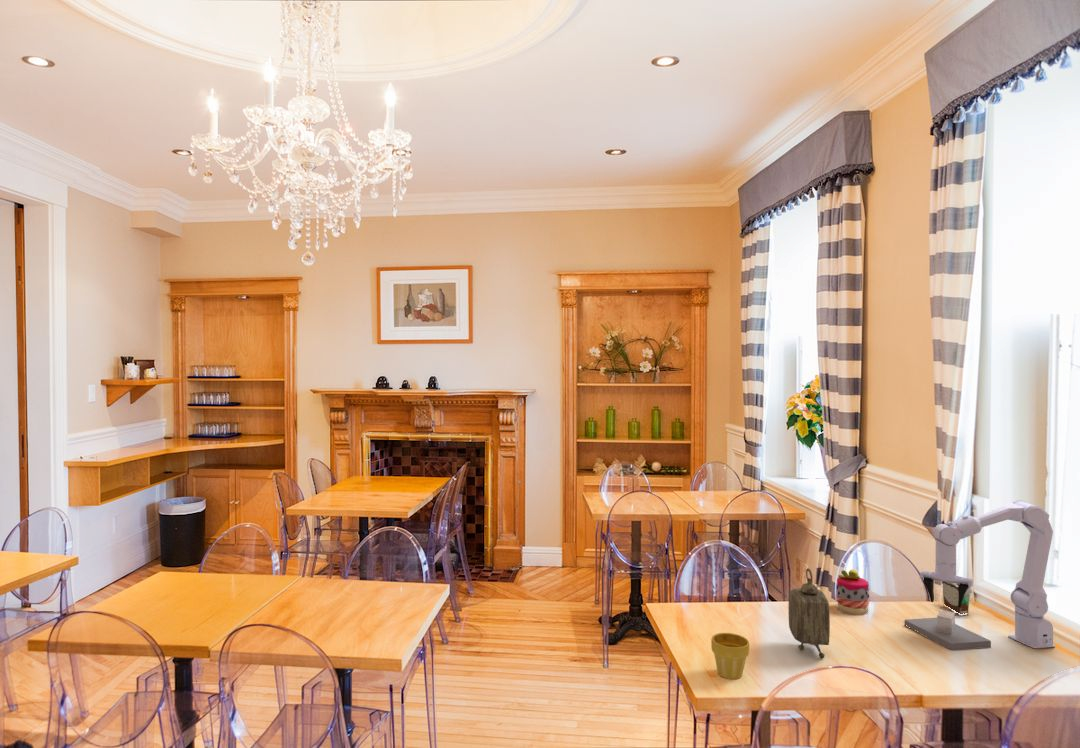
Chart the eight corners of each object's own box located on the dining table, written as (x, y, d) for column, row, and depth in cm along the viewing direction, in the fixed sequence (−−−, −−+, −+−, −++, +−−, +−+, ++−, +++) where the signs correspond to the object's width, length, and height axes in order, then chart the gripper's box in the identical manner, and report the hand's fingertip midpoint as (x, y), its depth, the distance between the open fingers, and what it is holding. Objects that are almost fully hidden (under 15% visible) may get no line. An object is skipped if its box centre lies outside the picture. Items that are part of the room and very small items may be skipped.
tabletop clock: (829, 661, 190) (829, 577, 190) (797, 659, 191) (797, 575, 192) (817, 642, 204) (817, 563, 204) (787, 639, 206) (787, 561, 206)
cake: (836, 603, 239) (836, 563, 239) (868, 607, 235) (868, 566, 235) (836, 612, 230) (836, 570, 230) (869, 617, 225) (869, 574, 225)
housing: (951, 634, 205) (951, 618, 205) (937, 631, 208) (937, 615, 208) (955, 627, 211) (955, 612, 211) (941, 624, 214) (941, 609, 214)
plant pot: (755, 682, 177) (755, 646, 177) (718, 683, 176) (718, 647, 176) (740, 665, 187) (740, 631, 187) (706, 666, 186) (706, 632, 186)
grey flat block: (990, 647, 200) (990, 640, 200) (951, 650, 198) (951, 643, 198) (940, 623, 220) (940, 617, 220) (904, 625, 218) (904, 619, 218)
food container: (980, 617, 225) (980, 589, 226) (962, 617, 226) (962, 588, 226) (958, 605, 238) (958, 578, 238) (941, 604, 238) (941, 577, 238)
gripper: (973, 563, 208) (974, 605, 208) (922, 555, 217) (922, 595, 217) (971, 568, 202) (971, 611, 202) (918, 560, 212) (918, 601, 212)
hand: (945, 604), depth 209 cm, fingers open, 7 cm apart
